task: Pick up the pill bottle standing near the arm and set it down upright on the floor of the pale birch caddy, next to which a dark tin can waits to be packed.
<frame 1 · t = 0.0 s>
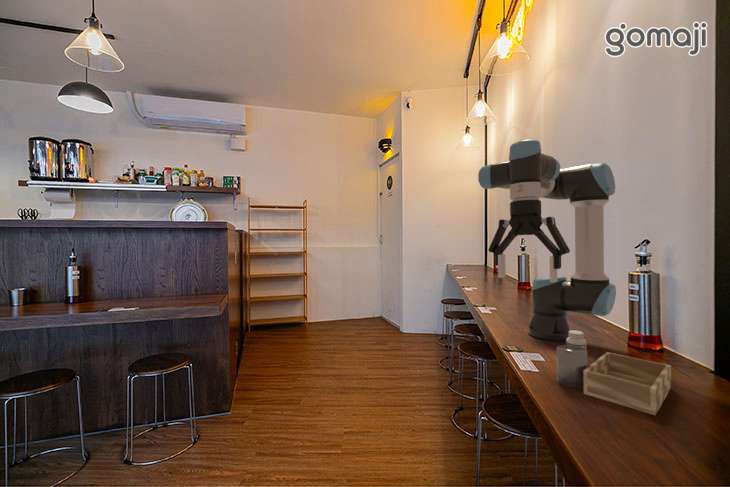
hand: (526, 279, 88), 28 cm above the countertop, fingers open, 13 cm apart
pill bottle: (576, 363, 102), on the countertop
tin can: (571, 382, 88), on the countertop
caddy: (627, 390, 83), on the countertop
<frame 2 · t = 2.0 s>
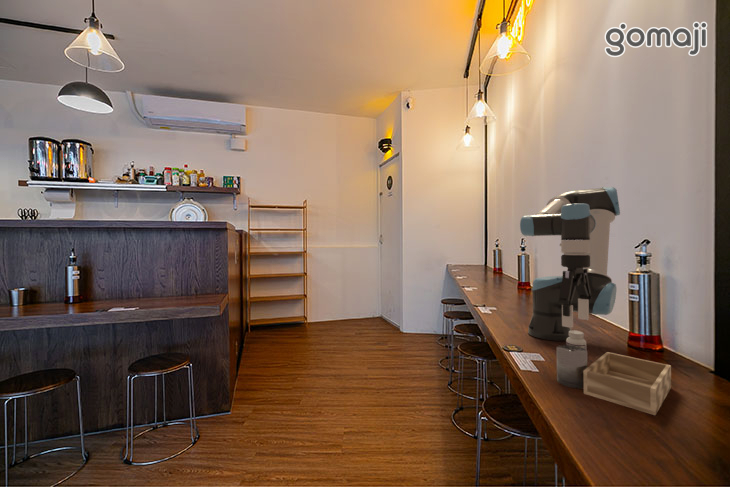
hand: (575, 323, 101), 12 cm above the countertop, fingers open, 13 cm apart
nothing on the countertop moved.
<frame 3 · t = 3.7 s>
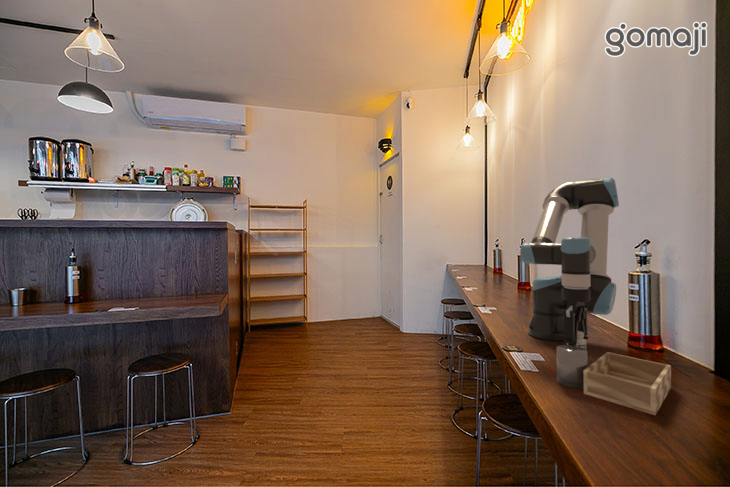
hand: (576, 361, 102), 0 cm above the countertop, fingers closed on pill bottle, 5 cm apart
pill bottle: (576, 363, 102), on the countertop, touching gripper
everything else where it was.
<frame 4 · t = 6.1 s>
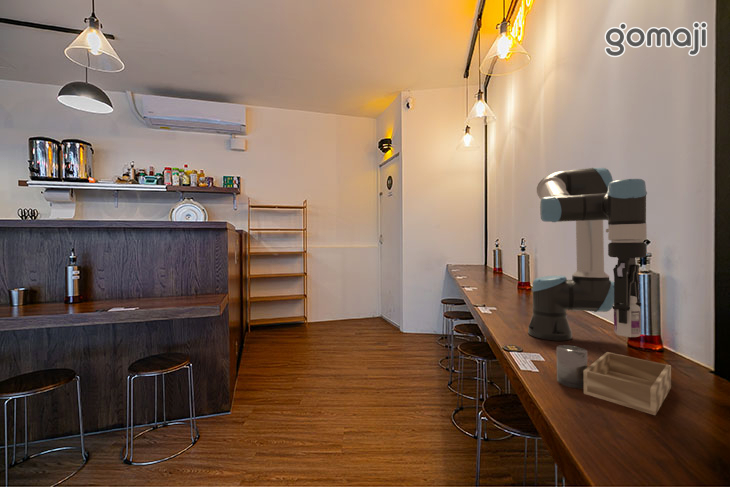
hand: (627, 333, 83), 15 cm above the countertop, fingers closed on pill bottle, 5 cm apart
pill bottle: (627, 335, 83), point 14 cm above the countertop, touching gripper
everything else where it was.
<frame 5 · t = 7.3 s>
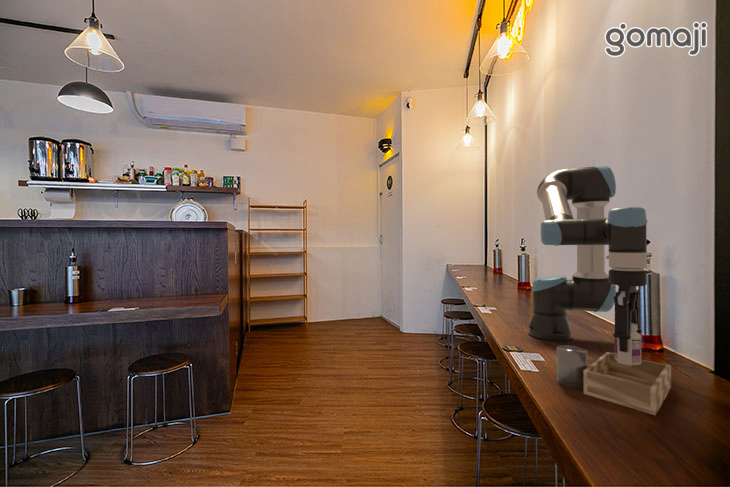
hand: (627, 360, 83), 8 cm above the countertop, fingers closed on pill bottle, 5 cm apart
pill bottle: (627, 362, 83), point 7 cm above the countertop, touching gripper
everything else where it was.
when the fingers open (3 cm above the countertop, at t = 8.5 s): pill bottle drops 1 cm, resting on caddy.
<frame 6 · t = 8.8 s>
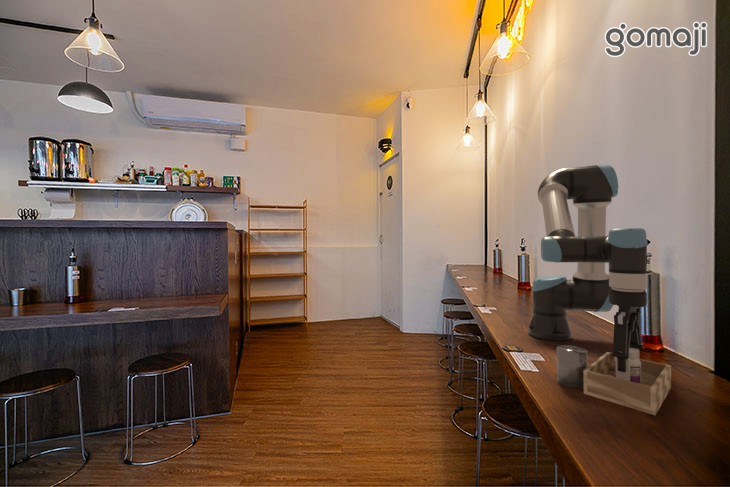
hand: (627, 378, 83), 3 cm above the countertop, fingers open, 9 cm apart
pill bottle: (627, 388, 83), point 1 cm above the countertop, touching caddy
everything else where it was.
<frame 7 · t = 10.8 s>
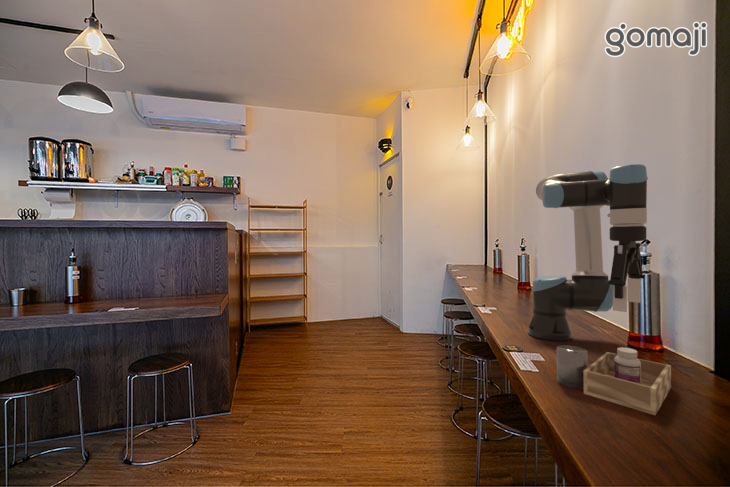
hand: (627, 306, 86), 21 cm above the countertop, fingers open, 13 cm apart
nothing on the countertop moved.
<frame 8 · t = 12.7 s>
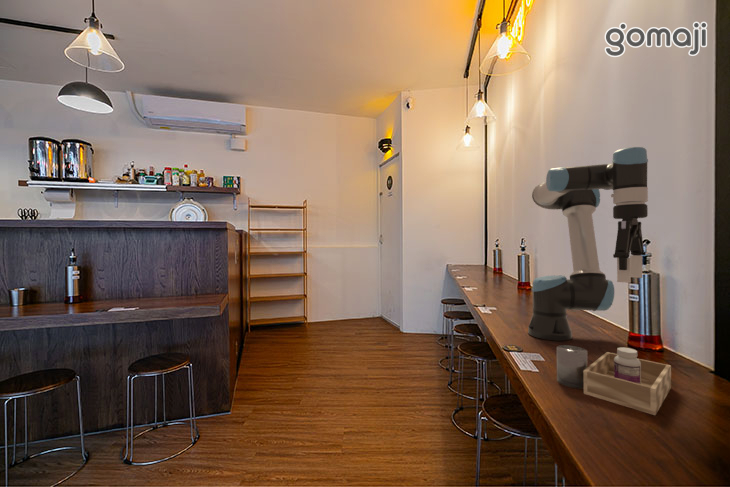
hand: (630, 279, 93), 27 cm above the countertop, fingers open, 13 cm apart
nothing on the countertop moved.
at the end: pill bottle inside the target area on the caddy (0.1 cm from its centre), point 0.6 cm above the caddy's base; pill bottle tilted 0°; the gripper is holding nothing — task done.
